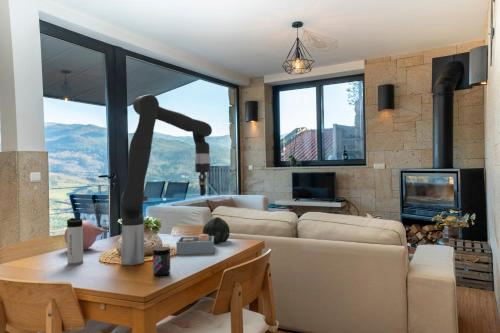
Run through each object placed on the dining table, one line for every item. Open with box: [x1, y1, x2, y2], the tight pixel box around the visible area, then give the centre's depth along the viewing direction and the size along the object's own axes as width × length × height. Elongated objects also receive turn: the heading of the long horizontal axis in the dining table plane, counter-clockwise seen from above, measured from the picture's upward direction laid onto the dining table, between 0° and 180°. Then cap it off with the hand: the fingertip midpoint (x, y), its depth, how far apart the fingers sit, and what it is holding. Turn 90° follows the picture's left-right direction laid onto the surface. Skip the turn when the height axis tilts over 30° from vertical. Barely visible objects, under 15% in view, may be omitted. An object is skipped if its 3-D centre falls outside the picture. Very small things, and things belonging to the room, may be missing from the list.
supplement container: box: [152, 246, 171, 278], centre depth 142 cm, size 7×7×10 cm
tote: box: [175, 236, 215, 255], centre depth 183 cm, size 18×14×6 cm
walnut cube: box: [183, 238, 194, 242], centre depth 182 cm, size 5×5×5 cm
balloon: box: [64, 219, 107, 251], centre depth 189 cm, size 15×20×15 cm
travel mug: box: [66, 217, 84, 266], centre depth 161 cm, size 6×7×20 cm
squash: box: [202, 216, 231, 244], centre depth 203 cm, size 14×15×15 cm
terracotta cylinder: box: [198, 233, 209, 241], centre depth 183 cm, size 5×5×7 cm
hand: (203, 194), depth 183 cm, fingers open, 8 cm apart
